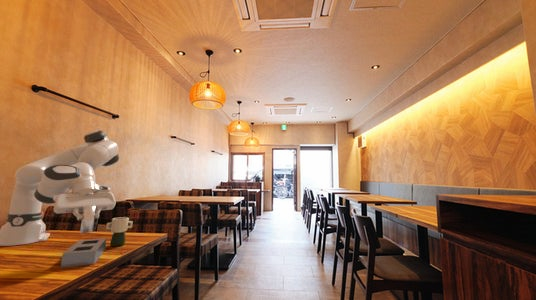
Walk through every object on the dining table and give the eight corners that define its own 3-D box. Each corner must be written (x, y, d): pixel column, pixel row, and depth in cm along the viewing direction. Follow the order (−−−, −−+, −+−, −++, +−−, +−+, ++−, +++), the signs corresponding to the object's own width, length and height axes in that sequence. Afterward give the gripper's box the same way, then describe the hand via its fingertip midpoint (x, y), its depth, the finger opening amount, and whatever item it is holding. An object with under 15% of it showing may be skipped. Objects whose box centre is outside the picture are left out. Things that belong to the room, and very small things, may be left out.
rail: (78, 251, 100) (79, 240, 100) (105, 249, 104) (106, 238, 105) (60, 268, 82) (62, 253, 82) (94, 264, 86) (95, 250, 87)
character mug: (130, 242, 117) (133, 216, 119) (130, 245, 111) (133, 218, 113) (104, 244, 111) (108, 217, 113) (103, 248, 105) (106, 220, 107)
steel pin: (81, 231, 91) (85, 206, 92) (93, 230, 93) (96, 205, 94) (78, 233, 87) (82, 207, 89) (91, 232, 89) (94, 206, 90)
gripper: (54, 187, 89) (55, 216, 81) (114, 187, 104) (119, 210, 97) (50, 198, 91) (51, 226, 83) (109, 196, 107) (114, 220, 99)
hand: (88, 218), depth 90 cm, fingers closed on steel pin, 4 cm apart
